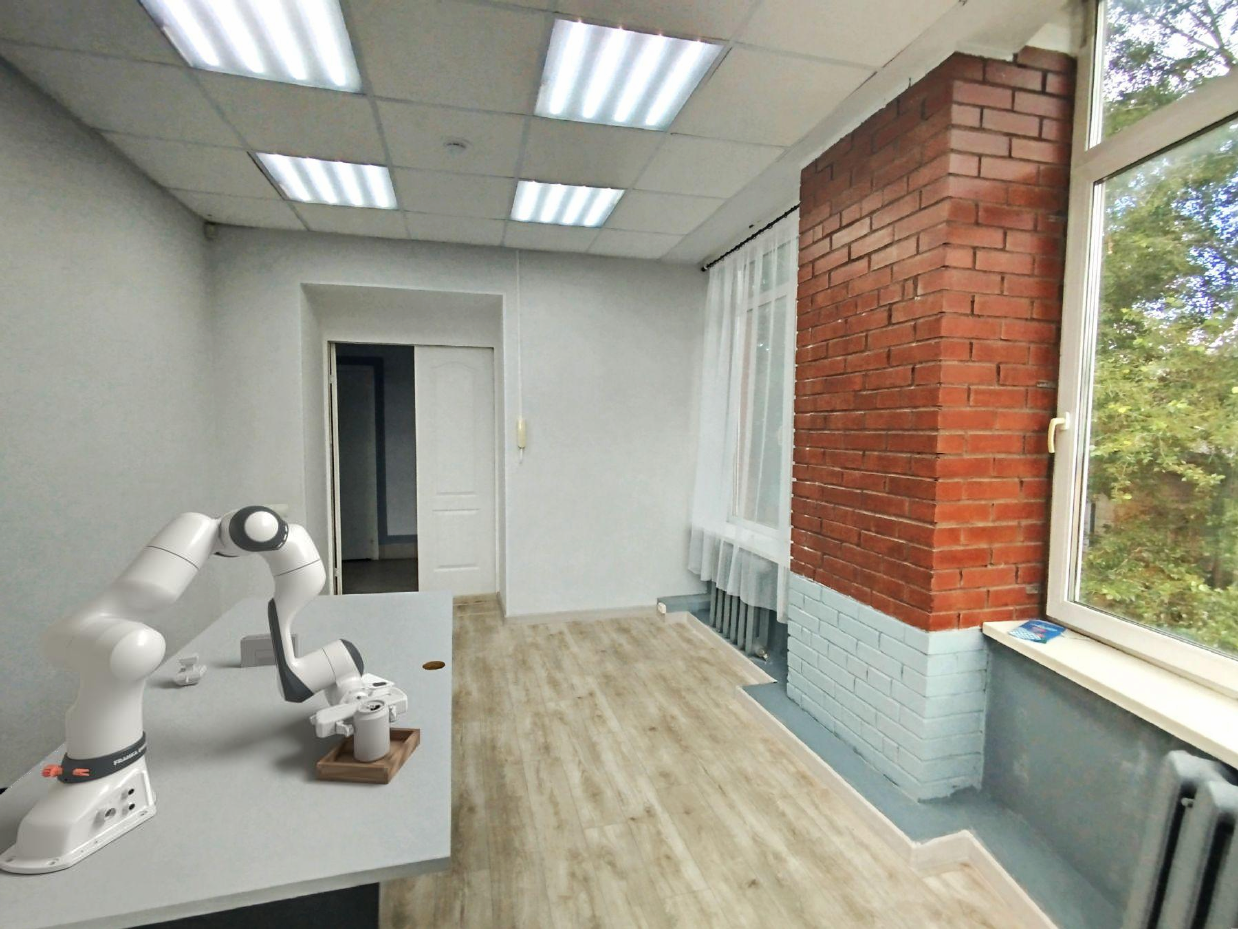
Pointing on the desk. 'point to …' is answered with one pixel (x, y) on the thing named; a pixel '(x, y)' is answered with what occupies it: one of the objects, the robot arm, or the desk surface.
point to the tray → (348, 768)
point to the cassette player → (261, 650)
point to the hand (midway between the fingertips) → (372, 725)
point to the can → (371, 730)
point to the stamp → (189, 670)
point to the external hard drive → (373, 679)
